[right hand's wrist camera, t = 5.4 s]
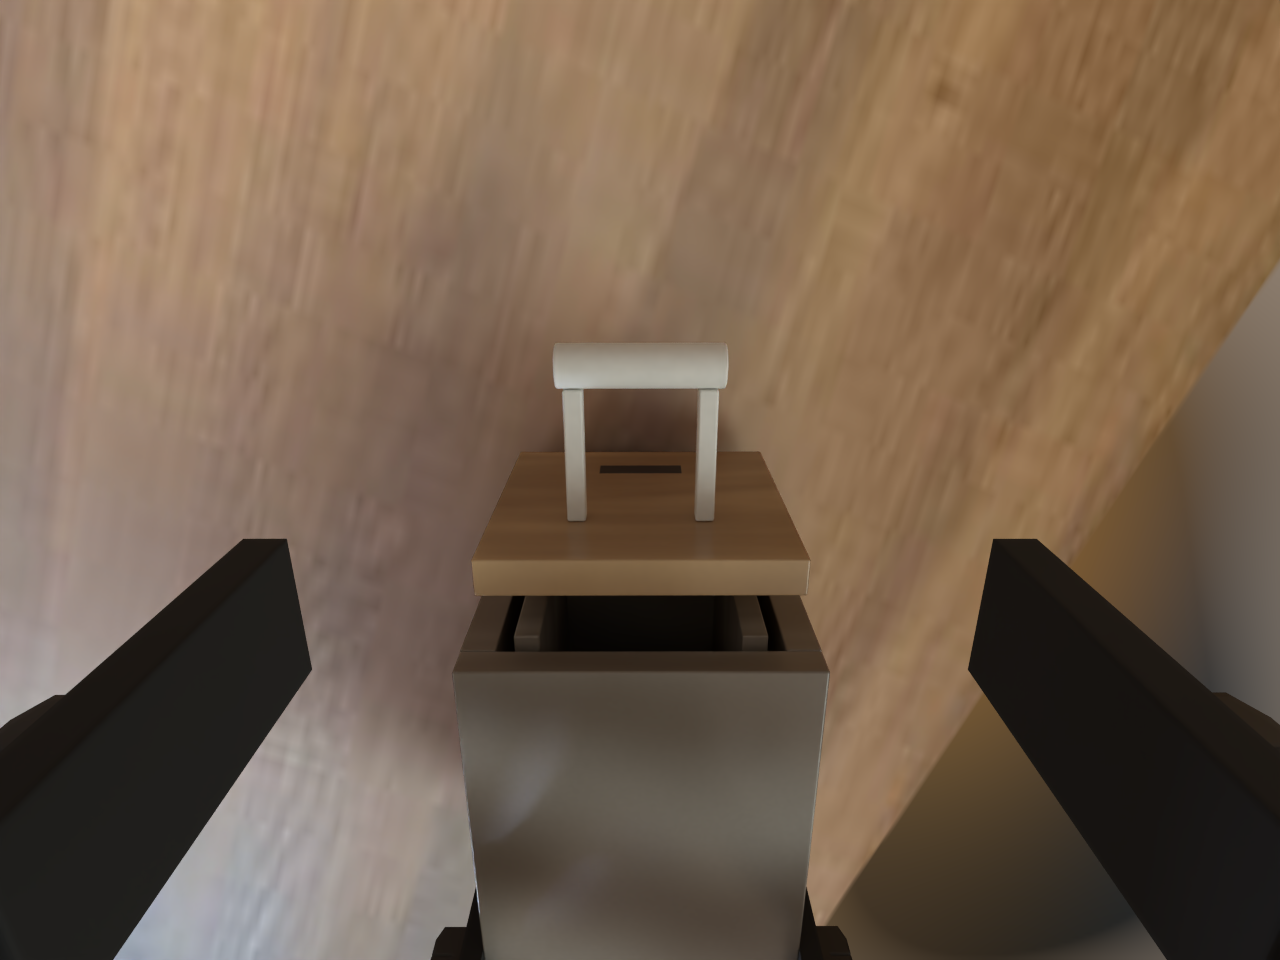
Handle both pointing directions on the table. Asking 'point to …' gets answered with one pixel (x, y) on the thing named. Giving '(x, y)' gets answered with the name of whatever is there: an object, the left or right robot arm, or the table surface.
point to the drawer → (640, 524)
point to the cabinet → (641, 792)
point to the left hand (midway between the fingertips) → (640, 862)
